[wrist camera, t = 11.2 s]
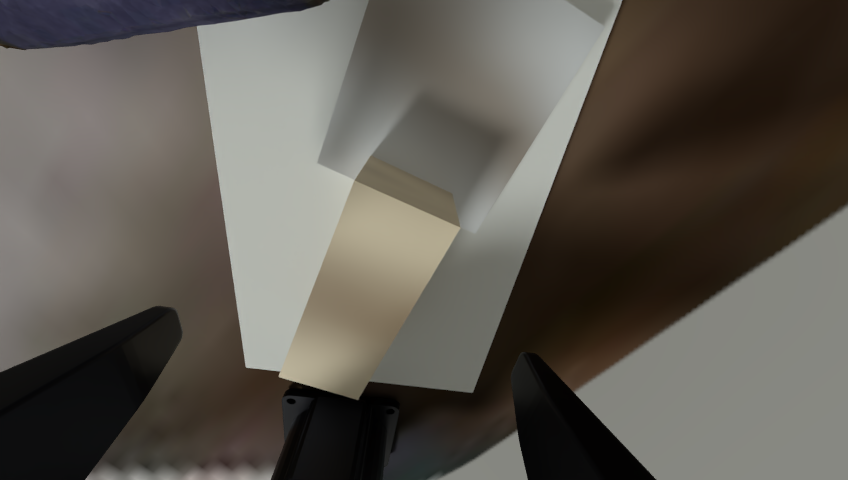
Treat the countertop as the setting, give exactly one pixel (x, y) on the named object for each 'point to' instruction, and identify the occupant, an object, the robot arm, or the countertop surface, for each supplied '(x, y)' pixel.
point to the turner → (424, 158)
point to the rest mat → (328, 191)
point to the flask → (121, 18)
